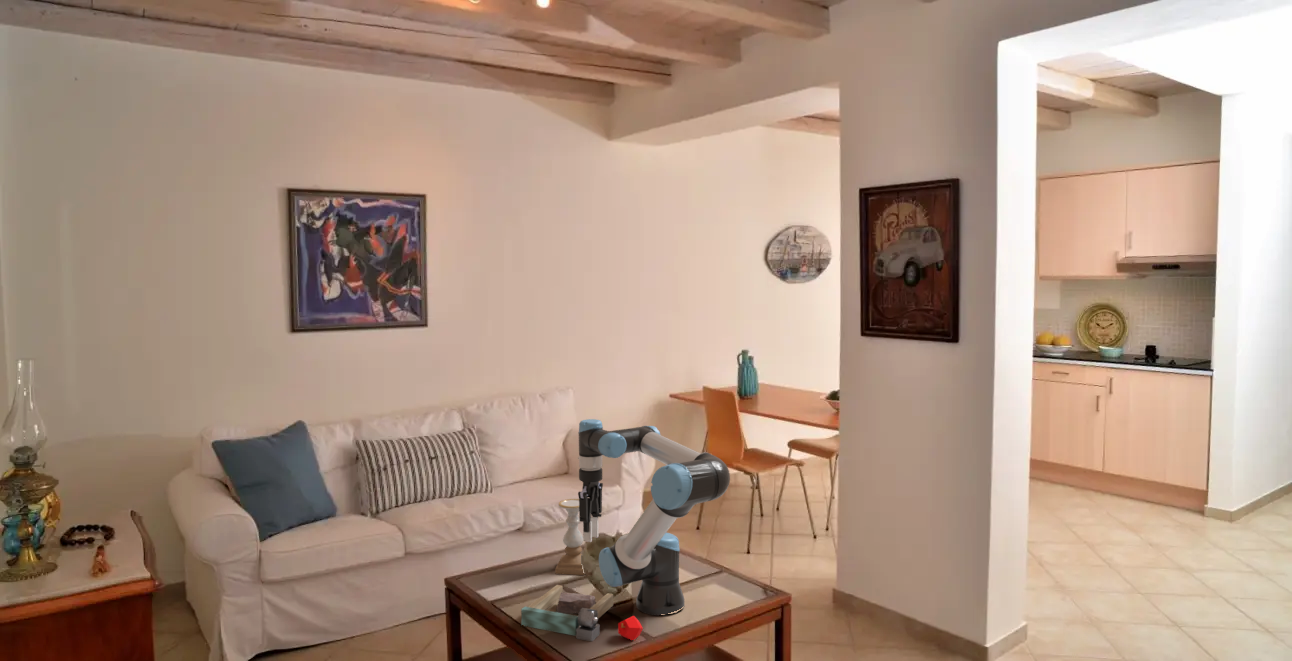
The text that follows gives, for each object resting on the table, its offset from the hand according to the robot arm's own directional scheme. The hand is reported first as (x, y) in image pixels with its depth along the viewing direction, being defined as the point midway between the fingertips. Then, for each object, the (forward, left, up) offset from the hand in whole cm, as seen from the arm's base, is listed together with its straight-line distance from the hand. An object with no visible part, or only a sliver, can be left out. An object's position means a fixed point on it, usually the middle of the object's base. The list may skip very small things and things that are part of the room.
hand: (590, 538), depth 268 cm
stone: (0, +11, -19) cm, 22 cm away
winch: (-12, +27, -19) cm, 36 cm away
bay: (0, +16, -19) cm, 25 cm away
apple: (-24, +23, -19) cm, 39 cm away
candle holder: (+16, -19, -19) cm, 31 cm away
